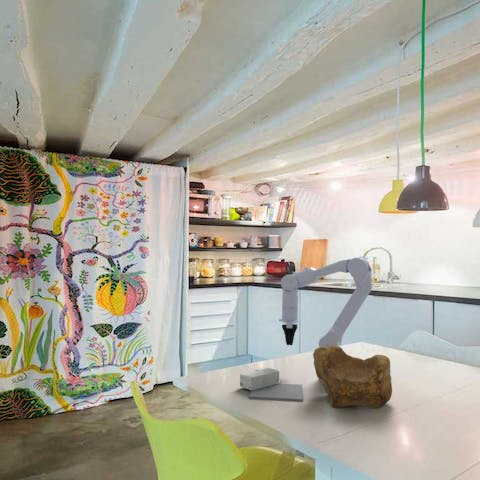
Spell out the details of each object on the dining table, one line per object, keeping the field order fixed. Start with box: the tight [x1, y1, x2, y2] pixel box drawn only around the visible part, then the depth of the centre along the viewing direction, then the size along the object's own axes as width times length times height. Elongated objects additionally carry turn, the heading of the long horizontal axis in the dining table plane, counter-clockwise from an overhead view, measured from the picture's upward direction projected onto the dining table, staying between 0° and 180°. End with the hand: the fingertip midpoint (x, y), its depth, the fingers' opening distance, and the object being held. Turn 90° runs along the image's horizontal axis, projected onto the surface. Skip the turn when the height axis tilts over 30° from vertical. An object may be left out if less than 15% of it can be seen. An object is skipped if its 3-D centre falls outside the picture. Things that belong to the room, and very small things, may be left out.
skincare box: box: [239, 367, 280, 391], centre depth 133 cm, size 6×4×12 cm
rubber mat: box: [248, 383, 304, 402], centre depth 128 cm, size 16×14×1 cm
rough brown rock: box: [312, 346, 393, 409], centre depth 119 cm, size 23×17×15 cm
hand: (289, 344), depth 149 cm, fingers closed
